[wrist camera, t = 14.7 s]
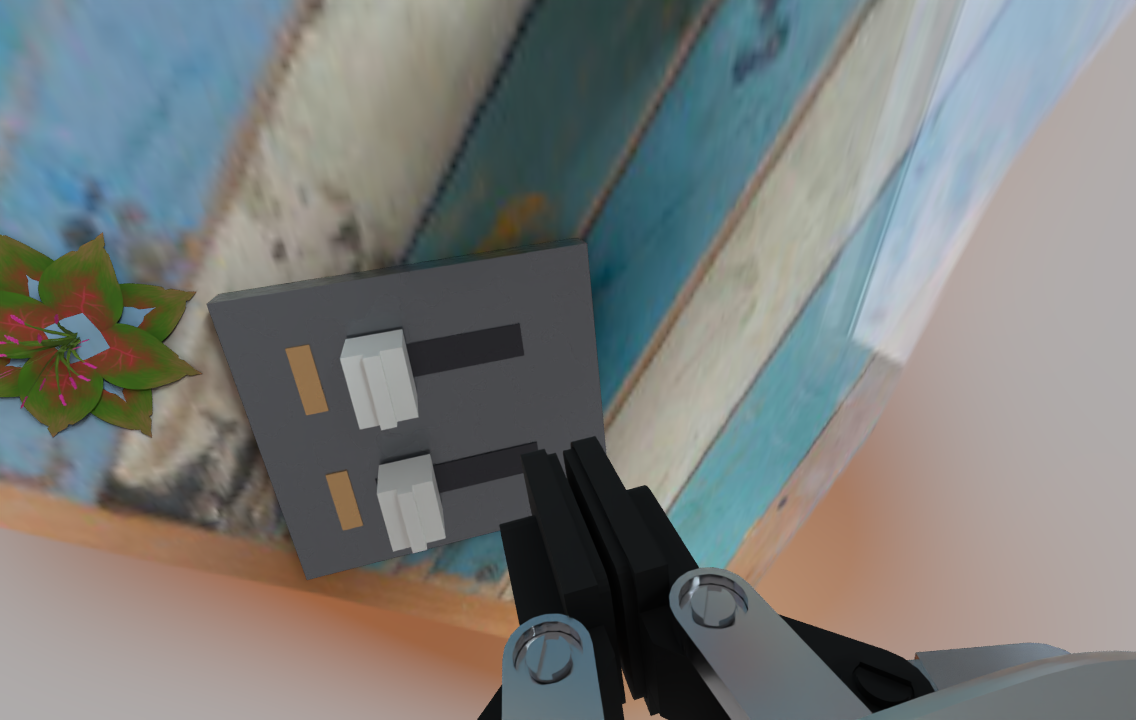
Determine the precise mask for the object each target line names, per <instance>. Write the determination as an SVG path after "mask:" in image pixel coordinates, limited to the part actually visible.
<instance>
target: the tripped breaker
mask: <svg viewBox="0 0 1136 720" xmlns="http://www.w3.org/2000/svg"><path fill="white" fill-rule="evenodd" d="M377 496H378V500H379V503H380V507H381V511H382V514H383V518H384V521H385V525H386V528H387V532H388V535H389V539H390V543H391V546H392V550H393V552H394V551H398V550H402V549H405V548H409V547H411V549H412V552H413V553H417V552H420V551H424V550H427V543H429V542H433V541H437V540H441V539H445V538H446V536H445V526H444V517H443V508H442V504H441V499H440V495H439V491H438V486H437V482H436V478H435V473H434V469H433V465H432V460H431V456H430V454H427V455H423V456H418V457H414V458H410V459H405V460H401V461H396V462H392V463H387V464H383V465H379V471H378V484H377Z"/></svg>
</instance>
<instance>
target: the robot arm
mask: <svg viewBox="0 0 1136 720" xmlns="http://www.w3.org/2000/svg"><path fill="white" fill-rule="evenodd" d="M563 458H564V464H565V470H566V476H567V478H566V476H565V473H564V471H563V468H562V466H561V464H560V461H559V459H558V456H557V454H556V453H552V454H548V455H547V453H546V450H545V449H541V450H537V451H533V452H529V453H525V454H521V455H520V459H521V464H522V469H523V474H524V479H525V484H526V489H527V494H528V499H529V504H530V509H531V514H532V516H528V517H525V518H521V519H517V520H514V521H510V522H506V523H502V524H499V527H500V532H501V536H502V541H503V546H504V551H505V556H506V561H507V566H508V571H509V576H510V580H511V585H512V590H513V595H514V600H515V605H516V610H517V615H518V619H519V624H520V626H519V627H518V628H517V629H516V630H515V631H514V632H513V633H512V635H511V636H510V638H509V640H508V642H507V644H506V645H505V648H504V654H503V663H502V668H503V670H502V685H501V687H500V688H499V689H498V691H497V692H496V694H495V695H494V697H493V698H492V699H491V701H490V702H489V704H488V705H487V706H486V708H485V709H484V711H483V712H482V713H481V715H480V716H479V718H478V719H477V720H624V714H623V708H622V704H624V703H626V700H625V692H624V685H623V678H622V671H623V673H624V676H625V679H626V681H627V684H628V687H629V689H630V692H631V694H632V697H633V699H634V700H636V699H639V698H642V697H644V699H645V702H646V705H647V707H648V710H649V712H650V715H651V716H652V715H655V714H658V713H659V714H660V716H662V717H663V718H665V719H668V720H1136V652H1129V651H1101V652H1100V651H1099V652H1085V653H1073V654H1071V653H1069V652H1067V651H1066V650H1063V649H1060V648H1056V647H1053V646H1051V645H1047V644H1040V643H1019V644H1008V645H996V646H985V647H974V648H962V649H950V650H939V651H928V652H916V653H915V659H914V660H905V659H904V658H903V657H900V656H898V655H896V654H894V653H891V652H889V651H887V650H884V649H881V648H878V647H875V646H872V645H869V644H866V643H863V642H860V641H857V640H854V639H851V638H848V637H845V636H842V635H839V634H836V633H833V632H830V631H827V630H824V629H821V628H818V627H815V626H812V625H809V624H806V623H803V622H800V621H797V620H794V619H791V618H788V617H785V616H782V615H779V614H777V613H776V612H775V611H774V610H773V609H772V608H771V606H770V605H769V604H768V603H767V602H766V601H765V600H764V599H763V598H762V597H761V596H760V595H759V594H758V593H757V592H756V591H755V590H754V589H753V587H752V586H751V585H750V584H749V583H748V582H746V581H745V580H744V579H742V578H741V577H740V576H739V575H737V574H734V573H732V572H730V571H728V570H724V569H719V568H714V567H710V568H699V567H698V565H697V563H696V562H695V560H694V559H693V557H692V555H691V554H690V552H689V551H688V549H687V548H686V546H685V544H684V543H683V541H682V540H681V538H680V536H679V535H678V533H677V532H676V530H675V528H674V527H673V525H672V524H671V522H670V520H669V519H668V517H667V516H666V514H665V512H664V511H663V509H662V508H661V506H660V504H659V503H658V501H657V500H656V498H655V496H654V495H653V493H652V492H651V490H650V489H649V488H648V487H647V486H646V485H644V486H640V487H636V488H633V489H629V490H626V489H625V487H624V485H623V484H622V482H621V480H620V478H619V476H618V475H617V473H616V471H615V469H614V468H613V466H612V464H611V462H610V460H609V459H608V457H607V455H606V453H605V452H604V450H603V448H602V446H601V444H600V443H599V441H598V439H597V438H596V436H593V437H589V438H585V439H581V440H577V441H573V442H571V449H568V450H564V451H563ZM621 668H622V670H621Z"/></svg>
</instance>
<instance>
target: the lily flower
mask: <svg viewBox="0 0 1136 720" xmlns="http://www.w3.org/2000/svg"><path fill="white" fill-rule="evenodd" d="M104 246H105V243H104V238H103V232H102V233H101V234H100V235H99V236H97V237H96V238H95V240H91V241H90V242H88V243H86V244H84V245H82V246H80V248H79V250H78V251H76V252H75V251H71V252H69V253H67V254H65V255H63V256H62V257H60V258H58V259H57V260H55V261H53V260H52V259H50V258H49V257H47V256H45V255H44V254H42V253H40V252H38V251H36V250H34V249H33V248H31V247H29V246H27V245H25V244H23V243H21V242H19V241H17V240H14V239H12V238H10V237H8V236H6V235H5V236H2V235H0V397H18V396H20V399H21V401H22V405H21V408H23V406H24V407H25V408H26V409H27V410H28V411H29V412H30V413H31V414H32V415H33V416H34V417H35V418H36V419H37V420H38V421H39V422H40V423H43V424H45V425H47V426H49V428H48V430H49V432H50V433H51V435H52V436H53V437H54V436H55V435H56V434H57V433H58V432H60V431H62V430H63V429H65V428H67V427H68V424H71V425H73V424H75V423H76V422H78V421H80V420H81V419H83V418H84V417H85V416H86V415H87V414H88V413H90V412H91V413H92V414H94V415H95V416H97V417H98V418H100V419H102V420H104V421H106V422H108V423H111V424H114V425H117V426H120V427H123V428H127V429H131V430H134V429H135V430H140V429H141V432H142V433H143V434H146V435H148V436H150V437H152V434H151V430H150V429H151V422H152V420H151V418H150V415H152V392H151V388H155V387H159V386H162V385H165V384H168V383H171V382H174V381H177V380H180V379H181V378H182V377H184V376H185V375H186V374H187V375H189V376H192V375H197V374H202V373H201V372H199V371H197V370H195V369H193V367H192V366H190V365H189V364H188V363H187V362H185V361H184V360H181V359H179V358H178V357H179V356H178V355H177V354H176V353H175V352H173V351H172V350H171V349H169V348H168V347H167V346H165V345H164V344H163V343H162V341H163V340H164V339H165V338H166V337H167V336H168V335H169V334H170V333H171V332H172V331H173V329H174V328H175V326H176V325H177V323H178V321H179V320H180V318H181V316H182V314H183V312H184V310H185V308H186V307H185V305H186V301H187V300H188V301H189V300H190V299H191V297H192V296H193V295H194V294H195V293H196V292H185V291H181V290H175V289H168V290H165V289H164V288H162V287H159V286H153V285H145V284H134V283H125V284H118V281H117V278H116V275H115V271H114V268H113V265H112V262H111V260H110V257H109V254H108V253H107V252H106V250H105V249H104V248H103V247H104ZM26 275H27V276H29V277H30V278H31V279H33V280H37V281H39V285H38V291H39V296H40V299H41V301H42V302H40V301H38V300H36V299H33V298H31V297H29V290H28V279H27V276H26ZM123 307H134V308H137V309H146V308H154V307H156V308H155V309H153V310H152V311H151V312H149V313H148V314H147V315H145V316H144V320H143V322H142V323H141V324H140V325H139V326H138V328H137V327H134V326H131V325H127V324H120V323H117V322H118V320H119V319H120V317H121V315H122V311H123ZM80 313H83V314H84V315H85V316H86V317H87V318H88V319H89V320H90V321H91V322H92V323H93V324H94V325H95V326H96V327H97V329H98V330H99V331H100V332H101V334H102V335H103V337H104V338H105V340H106V342H107V343H108V345H109V346H110V348H109V349H107V350H105V351H103V352H101V353H99V354H97V355H95V356H93V357H90V358H88V359H86V360H82V359H80V357H79V356H78V354H77V353H76V351H75V349H76V348H79V347H76V346H77V345H78V343H81V342H80V341H81V340H80V339H78V338H76V337H77V333H78V332H77V333H72V332H71V331H69V330H66V329H65V328H64V327H63V326H61V325H60V323H59V321H60V320H62V319H64V318H67V317H70V316H73V315H77V314H80ZM54 323H56V324H57V325H58V327H59V328H60V329H61V330H62V331H63V332H64V333H61V332H57V331H51V330H46V329H44V328H46V327H48V326H50V325H52V324H54ZM44 332H47V333H51V334H58V335H62V336H67V337H65V338H58V339H48V338H47V336H46V335H45V333H44ZM69 336H70V337H69ZM79 338H80V337H79ZM74 339H75V340H74ZM55 340H58V341H55ZM73 340H74V341H73ZM88 340H89V339H88ZM85 341H87V340H85ZM85 341H82V342H85ZM70 342H71V343H70ZM69 343H70V345H69ZM60 345H61V347H60ZM57 346H59V348H60V349H59V348H58V347H57ZM55 347H57V349H59V350H57V349H56V348H55ZM69 347H70V348H69ZM80 347H81V346H80ZM68 348H69V349H68ZM67 349H68V350H67ZM65 351H68V352H67V360H66V359H65V358H64V352H65ZM71 352H72V353H73V354H74V356H75V357H76V358H77V359H79V360H80V361H79V362H76V363H72V364H70V361H69V359H70V354H71ZM11 358H12V359H23V358H30V359H29V360H28V361H27V362H26V363H25V364H24V366H23V367H19V366H18V367H14V366H6V365H7V364H8V363H10V359H11ZM20 366H21V365H20ZM103 378H104V379H105V380H107V381H108V382H110V383H112V384H114V385H116V386H119V387H122V388H124V389H123V391H122V392H123V394H124V397H125V399H126V402H127V403H126V402H125V401H124V400H123V399H121V398H120V397H119V396H117V395H116V394H113V393H109V392H108V391H106V390H104V389H103Z"/></svg>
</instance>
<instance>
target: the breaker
mask: <svg viewBox="0 0 1136 720" xmlns="http://www.w3.org/2000/svg"><path fill="white" fill-rule="evenodd" d="M340 361H341V364H342V368H343V371H344V375H345V379H346V382H347V386H348V389H349V393H350V396H351V400H352V404H353V407H354V411H355V414H356V418H357V421H358V425H359V428H360V429H365V428H370V427H375V426H379V425H380V428H381V430H385V429H390V428H394V427H397V422H398V421H403V420H408V419H413V418H417V417H418V399H417V391H416V387H415V382H414V378H413V374H412V369H411V365H410V361H409V356H408V352H407V348H406V343H405V339H404V335H403V330H402V329H400V330H395V331H389V332H384V333H378V334H372V335H367V336H361V337H356V338H350V339H345V343H344V346H343V350H342V353H341V357H340Z"/></svg>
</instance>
